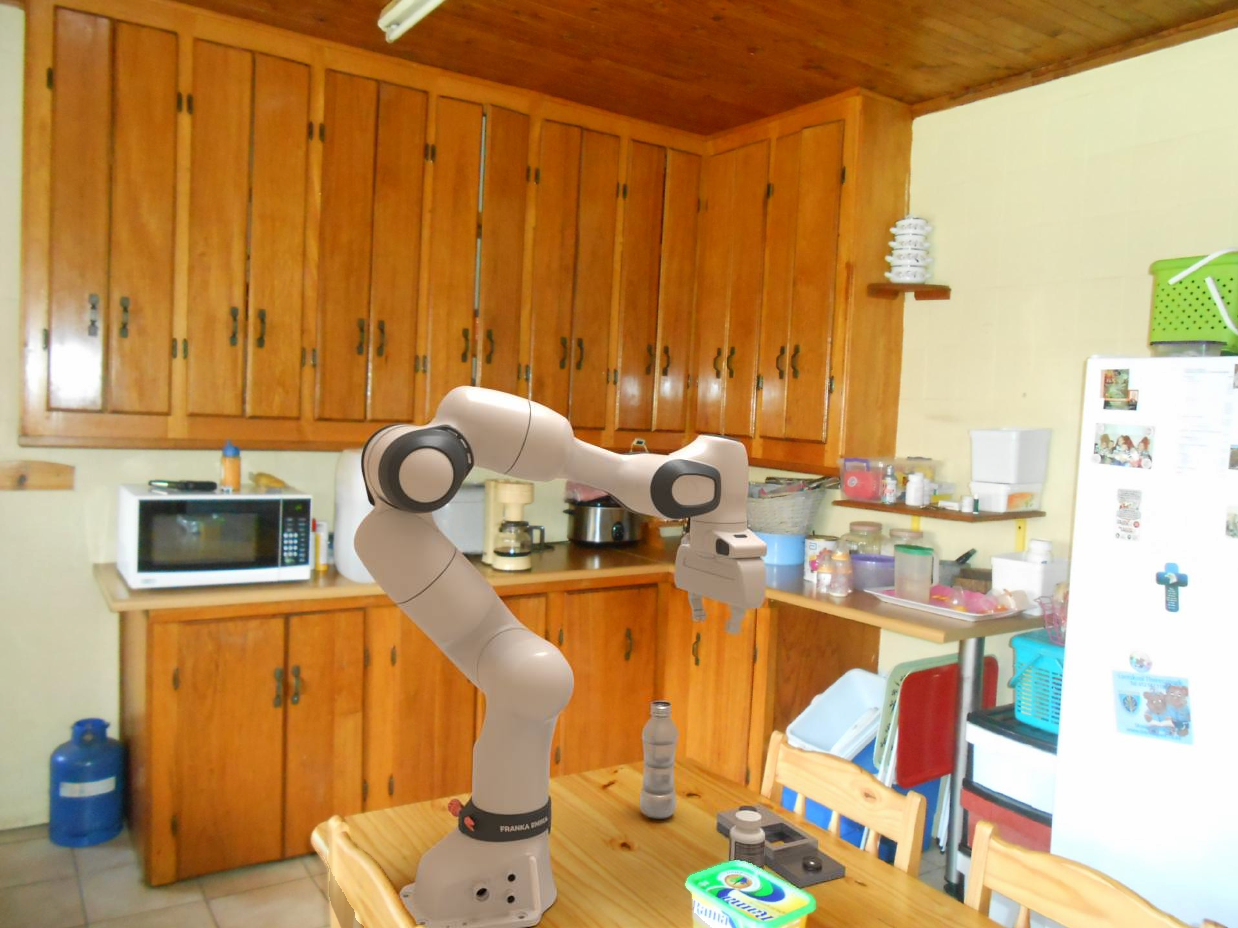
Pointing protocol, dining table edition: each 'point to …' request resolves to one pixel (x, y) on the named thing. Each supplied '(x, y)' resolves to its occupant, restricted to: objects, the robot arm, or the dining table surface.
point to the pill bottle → (747, 839)
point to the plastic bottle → (659, 762)
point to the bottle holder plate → (787, 848)
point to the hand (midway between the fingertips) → (715, 626)
